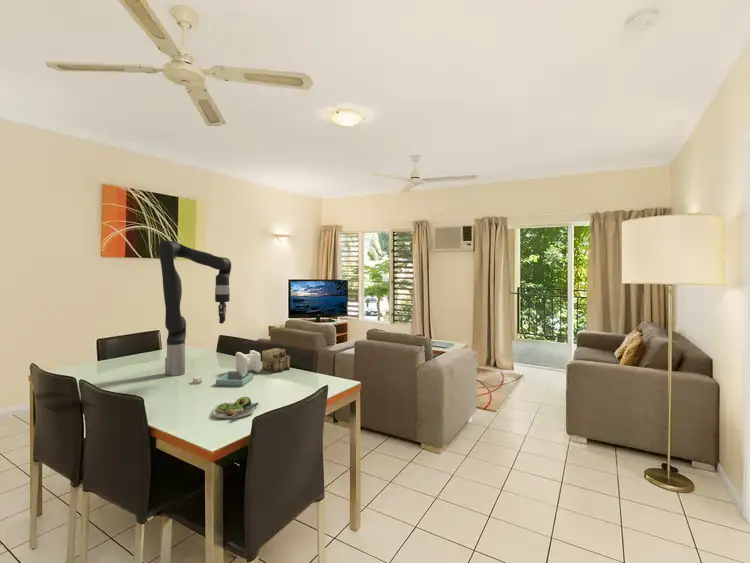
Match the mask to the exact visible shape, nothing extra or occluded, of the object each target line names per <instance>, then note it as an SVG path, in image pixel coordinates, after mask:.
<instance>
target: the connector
mask: <svg viewBox="0 0 750 563" xmlns="http://www.w3.org/2000/svg"><path fill="white" fill-rule="evenodd" d="M227 373H228V380H242V377H245V374H243V375H242V371H237V370H230V371H227Z"/></svg>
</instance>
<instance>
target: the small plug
mask: <svg viewBox="0 0 750 563" xmlns="http://www.w3.org/2000/svg"><path fill="white" fill-rule="evenodd" d="M202 382H203V380H202V377H200V376H196V377H195V376H194V377H192V383H193V384H196V385H197V384H202Z"/></svg>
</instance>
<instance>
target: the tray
mask: <svg viewBox="0 0 750 563" xmlns="http://www.w3.org/2000/svg"><path fill="white" fill-rule="evenodd" d="M243 374H245V377H242V380H228V372H227V373H225V374H223V375H222V376H220V377H218V378H217V379H215V386H217V387H244V386H246V385H247V384H249V382H252V380H254V373H250V372H249V373H248V372H247V373H242V375H243Z"/></svg>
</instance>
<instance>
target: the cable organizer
mask: <svg viewBox="0 0 750 563" xmlns="http://www.w3.org/2000/svg"><path fill="white" fill-rule="evenodd" d="M261 356H262V355H261V353H260V352H258V351H256V350H254V349H253V350H251V349H250V350H249V353H246V354H244V353H243V352H241V351H237V352H236V353H235V371H242V373H248V372H249V373H250V371H251V370H252V371H253V372H255V373H257V374H258V373H260V372H261V371H262V363H261V362H262V357H261Z"/></svg>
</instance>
